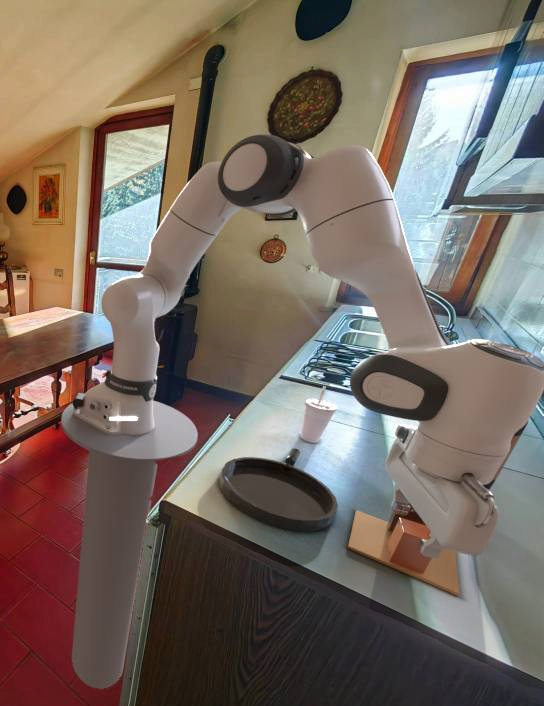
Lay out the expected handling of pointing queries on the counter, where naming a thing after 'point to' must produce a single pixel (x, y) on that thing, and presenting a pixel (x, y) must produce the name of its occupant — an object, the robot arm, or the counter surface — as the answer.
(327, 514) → the pan
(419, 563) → the terracotta block
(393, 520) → the walnut block
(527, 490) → the counter surface
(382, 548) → the mat
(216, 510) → the counter surface
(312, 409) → the smoothie
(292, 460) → the pan handle
